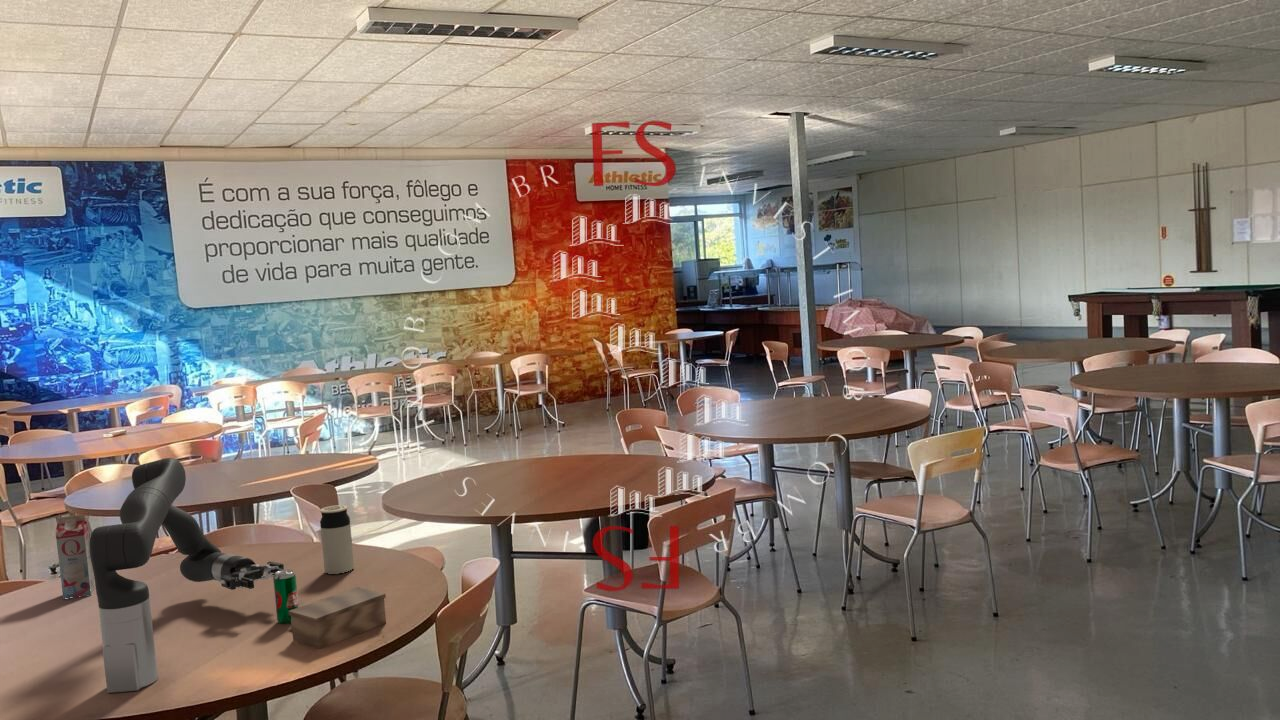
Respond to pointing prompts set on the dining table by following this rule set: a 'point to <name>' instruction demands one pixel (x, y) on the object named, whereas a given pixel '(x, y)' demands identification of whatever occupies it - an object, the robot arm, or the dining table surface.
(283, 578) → the soda can
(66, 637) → the dining table surface
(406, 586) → the dining table surface
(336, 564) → the travel mug
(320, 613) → the shoebox
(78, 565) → the juice carton
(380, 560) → the dining table surface
